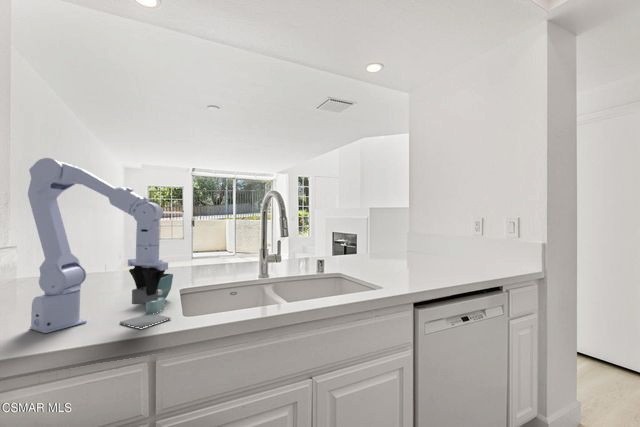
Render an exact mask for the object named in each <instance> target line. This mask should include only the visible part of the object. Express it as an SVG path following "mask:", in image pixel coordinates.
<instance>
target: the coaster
mask: <svg viewBox="0 0 640 427" xmlns="http://www.w3.org/2000/svg"><path fill="white" fill-rule="evenodd" d="M170 318H171V317H170V316H165V315H161V314H158V313H157V314H153V313H149V314H146V313H145V314H143V315H139V316H136V317H135V316H134V317H131V318H128V319H125V320H122V321H119V324H120V323H121V324H125V325H130V326H134V327H139V328H143V327H145V326H149V325H152V324H155V323H158V322H161V321H164V320H167V319H170ZM121 324H120V325H121ZM125 325H124V326H125Z"/></svg>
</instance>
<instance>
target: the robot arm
mask: <svg viewBox="0 0 640 427" xmlns="http://www.w3.org/2000/svg"><path fill="white" fill-rule="evenodd" d="M28 171H29V176H30V181H29V186H28V191H27V197H28V201H29V204H30V208H31V212H32V215H33V219H34V220H33V221H34V222H35V226H36V230H37V234H38V237H39V242H40V244H41V248H42V252H43V256H44V261H43V262H42V263H41V264H40V266H39V272H40V275H39V279H38V284H39V288H40V289H41V290H42V291H43V294H41V295H38V296H35V297H34V298H33V299H32V303H31V316H30V317H31V319H30V320H31V322H30V326H29V329H31V330H34V331H37V332H40V333H43V334H48V333H51V332H55V331H58V330H59V331H60V330H63V329H66V328H70V327H74V326H77V325H78V326H79V325H82V324H85V323H87V322H88V321H87V320H86V319H84V318H80V315H81V313H80V312H81V311H80V310H81V286H82V284H83V283H84V282H85V281H86V280H87V279H86V278H87V271H86V269H85V268H84V267H83V266H82V265H81V264H80V260H79V258H78V257H77V256H76V255H74V254H73V253H72V251H71V247H70V244H69V240H68V236H67V233H66V229H65V226H64V222H63V218H62V214H61V211H60V207H59V202H58V200H57V198H58V197H59V196H60V195H61V194H62V193H63V192H64V191H67V190H68V189H70V188H71V187H73V186H74V185H82V186H84V187H86V188H89V189H91V190H92V191H94V192H96V193H97V194H100V195H102V196H104V197H107V198H108V200H109V201H108V202H109V204H110V205H112V206H114V207H115V208H117V209H119V210H120V211H122V212H124V213H127V214H128V215H130V216H132V217H133V219H134V220H135V221H136V235H135V237H136V239H135V241H136V242H135V258H130V259H127V267H133V268H129V270H128V272H129V273H130V276H132V279H133V281H134V283H135V289H137V288H141V287H146V292H147V295H148V296H150V295H154V294H156V290H157V287H158V284H159V281H160V279H161V277H162V275H163V274H165V272H166V271H167V270H169V262H168V261H163V259H161V258H160V233H161V232H160V230H161V229H160V228H161V227H160V221H161V219H162V218H163V215H164V212H163V208H162V207H161V206H160V205H159V204H158V203H157V202H149V198H147V197H145V196H144V197H142V196H140V195H139V194H137V193H136V192H134V189H132V188H130V187H125V186H121V187H115V186H113V185H111V184H110V183H108V182H107V181H106V180H104V179H101V177H98V176H96V175H95V174H93V173H92V172H90V171H88V170H86V169H84V168H82V167H79V166H76V165H75V164H74V163H73V164H72V163H67V162H63V161H59V160H57V159H54V158H50V157H44V158H41V159H38V160H37V161H36V162H35V163H34V164H33V165H32V166H31V167H30V168H29V170H28Z"/></svg>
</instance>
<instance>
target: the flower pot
mask: <svg viewBox="0 0 640 427" xmlns="http://www.w3.org/2000/svg"><path fill="white" fill-rule="evenodd" d="M173 279H174V273H164V274H163V275H162V277H161V279H160V281H159V284H158V290H162V295H158V298H164V300H166V299H167V297H168V295H169V294H170V291H171V289H172V284H173Z"/></svg>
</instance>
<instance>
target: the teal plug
mask: <svg viewBox="0 0 640 427" xmlns="http://www.w3.org/2000/svg"><path fill="white" fill-rule="evenodd" d="M165 300H166V299H165ZM165 300H164V298H158V300H154V301H151V302H147V303H145V314H149V313H157V312H159V311H160V310H162V309H163V308H164V309H165V304H166V303H165V302H166V301H165ZM164 309H163V310H164ZM163 310H162V311H163ZM160 312H161V311H160ZM160 312H159V313H160ZM157 314H158V313H157Z"/></svg>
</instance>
